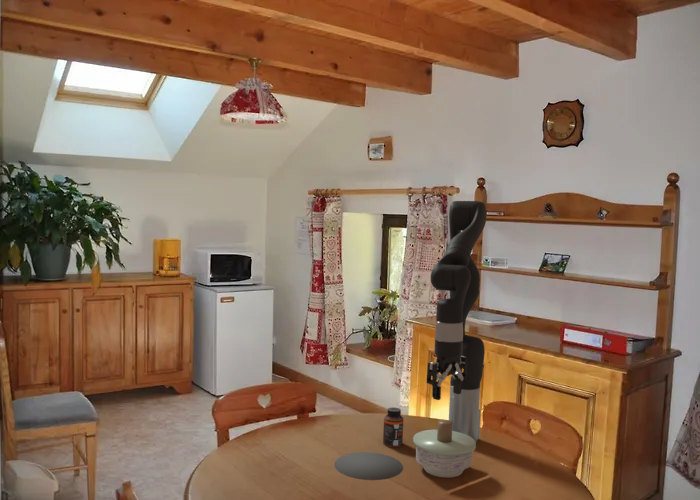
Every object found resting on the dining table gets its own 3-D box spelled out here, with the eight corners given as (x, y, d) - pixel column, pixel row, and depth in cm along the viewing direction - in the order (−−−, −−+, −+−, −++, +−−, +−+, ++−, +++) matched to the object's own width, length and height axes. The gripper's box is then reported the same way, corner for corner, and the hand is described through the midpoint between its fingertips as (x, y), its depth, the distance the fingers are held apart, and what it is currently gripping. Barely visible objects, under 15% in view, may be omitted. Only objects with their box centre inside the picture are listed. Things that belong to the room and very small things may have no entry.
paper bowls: (431, 456, 182) (432, 430, 181) (480, 470, 173) (481, 442, 173) (404, 473, 170) (406, 444, 169) (455, 488, 161) (456, 458, 160)
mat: (371, 449, 186) (371, 447, 186) (417, 470, 171) (417, 468, 171) (320, 464, 173) (320, 461, 173) (365, 488, 159) (365, 486, 159)
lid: (441, 428, 183) (442, 408, 182) (488, 446, 170) (489, 425, 169) (400, 440, 172) (401, 419, 172) (447, 460, 159) (448, 437, 159)
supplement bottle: (401, 450, 186) (402, 413, 185) (381, 448, 187) (382, 411, 186) (403, 443, 192) (405, 407, 191) (384, 441, 193) (385, 405, 192)
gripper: (455, 332, 176) (453, 388, 177) (420, 338, 167) (419, 397, 168) (476, 337, 171) (474, 395, 172) (441, 343, 161) (440, 404, 163)
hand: (446, 396), depth 170 cm, fingers open, 8 cm apart
